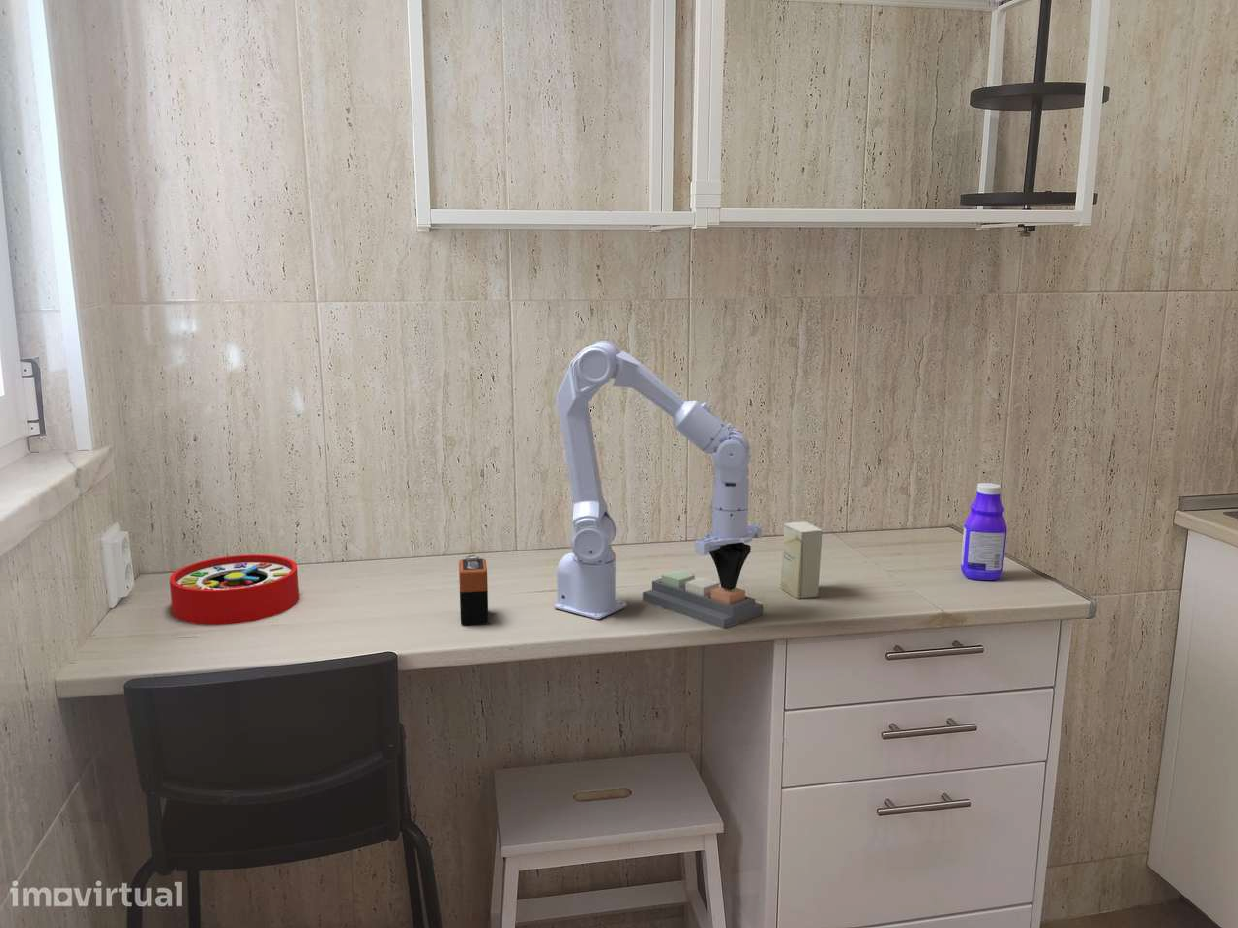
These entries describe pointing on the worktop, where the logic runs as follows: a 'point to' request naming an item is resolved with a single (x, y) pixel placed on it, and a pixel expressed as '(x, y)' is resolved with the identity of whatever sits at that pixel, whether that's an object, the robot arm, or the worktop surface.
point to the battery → (473, 590)
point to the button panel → (701, 605)
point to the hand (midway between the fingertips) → (728, 587)
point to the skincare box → (801, 559)
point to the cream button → (701, 586)
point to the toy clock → (234, 589)
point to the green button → (677, 578)
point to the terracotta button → (727, 595)
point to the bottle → (984, 535)
